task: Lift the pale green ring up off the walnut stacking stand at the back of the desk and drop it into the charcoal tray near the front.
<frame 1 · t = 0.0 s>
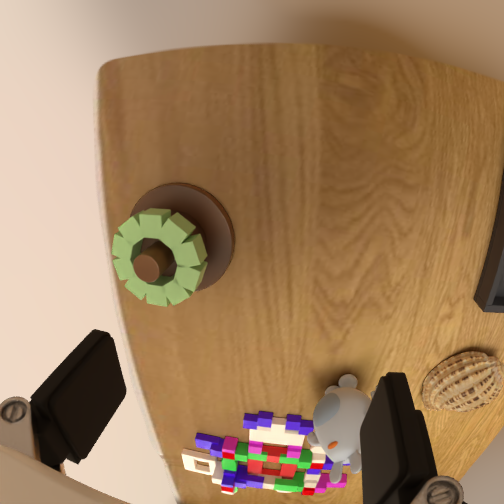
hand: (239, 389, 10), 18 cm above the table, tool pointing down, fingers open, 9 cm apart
seashell: (458, 373, 30), on the table
toy figure: (341, 384, 32), on the table
building block set: (267, 454, 39), on the table
ring: (162, 253, 25), point 4 cm above the table, touching stand
stand: (180, 237, 29), on the table
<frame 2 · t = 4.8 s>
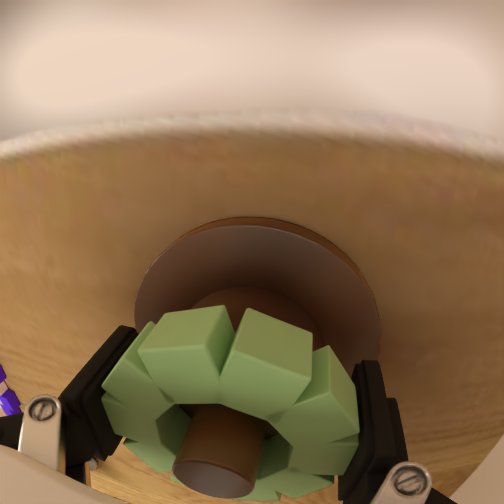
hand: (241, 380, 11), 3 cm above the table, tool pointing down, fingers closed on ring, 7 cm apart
ring: (234, 405, 9), point 4 cm above the table, touching gripper, stand
stand: (255, 335, 13), on the table
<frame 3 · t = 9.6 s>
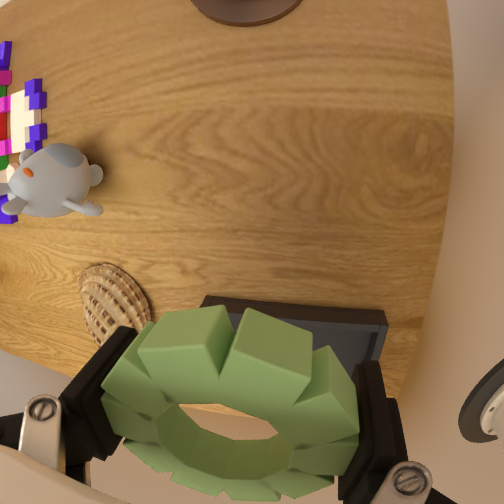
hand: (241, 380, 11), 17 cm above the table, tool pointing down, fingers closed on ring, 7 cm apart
seashell: (121, 301, 33), on the table
toy figure: (89, 170, 28), on the table
tray: (289, 353, 31), on the table
ring: (234, 405, 9), point 19 cm above the table, touching gripper
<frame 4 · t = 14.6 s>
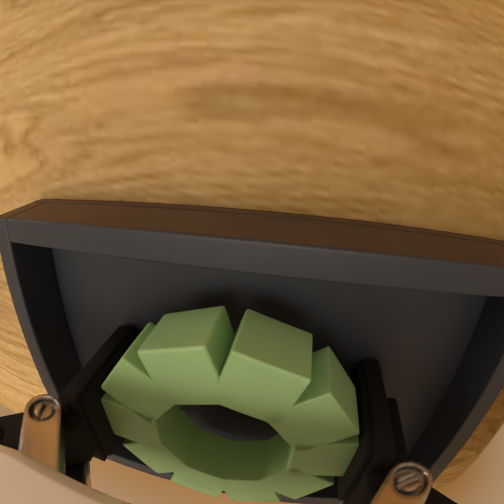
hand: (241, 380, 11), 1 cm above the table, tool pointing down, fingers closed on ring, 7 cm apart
tray: (250, 370, 11), on the table
ring: (234, 405, 9), point 2 cm above the table, touching gripper
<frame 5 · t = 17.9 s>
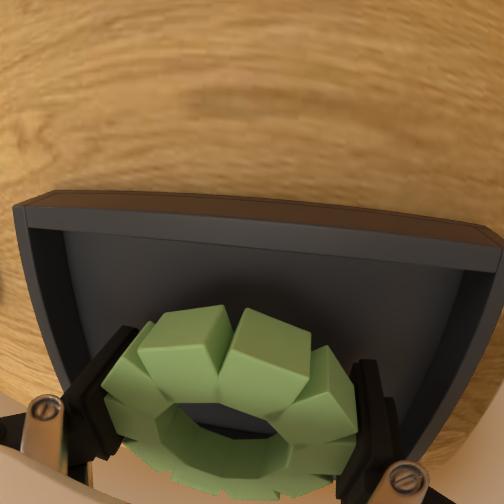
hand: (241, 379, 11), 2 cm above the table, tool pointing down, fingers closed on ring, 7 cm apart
tray: (245, 345, 12), on the table
ring: (233, 404, 10), point 3 cm above the table, touching gripper
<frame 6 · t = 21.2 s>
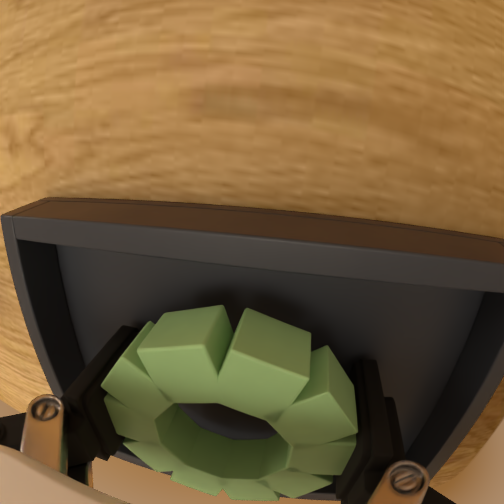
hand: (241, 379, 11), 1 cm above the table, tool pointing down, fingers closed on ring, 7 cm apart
tray: (251, 365, 11), on the table
ring: (233, 404, 10), point 2 cm above the table, touching gripper
when the fingers open (2 cm above the table, at t = 27.4 s): ring drops 3 cm, resting on tray.
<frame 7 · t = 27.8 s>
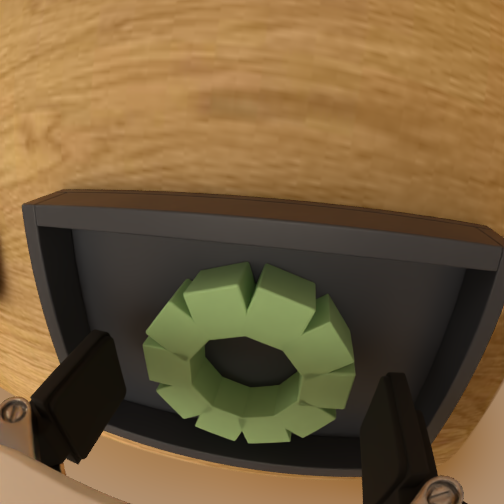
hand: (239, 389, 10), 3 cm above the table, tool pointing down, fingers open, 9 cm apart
tray: (252, 342, 13), on the table
ring: (252, 351, 12), resting on tray
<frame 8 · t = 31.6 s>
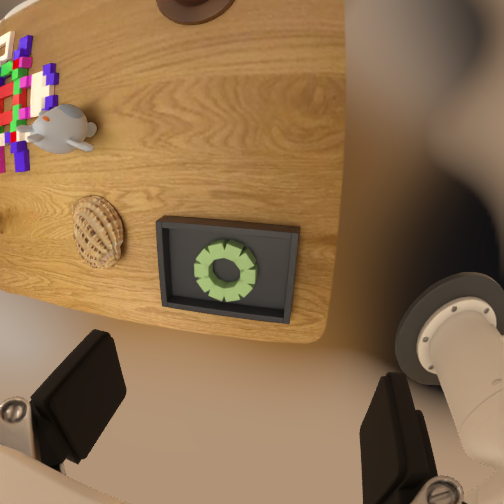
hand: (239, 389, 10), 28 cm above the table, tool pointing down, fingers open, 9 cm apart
seashell: (103, 227, 42), on the table
toy figure: (87, 126, 37), on the table
building block set: (17, 96, 36), on the table
tray: (227, 265, 40), on the table
ring: (227, 267, 40), resting on tray
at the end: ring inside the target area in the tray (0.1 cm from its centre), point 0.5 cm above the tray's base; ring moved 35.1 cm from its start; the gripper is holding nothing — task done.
